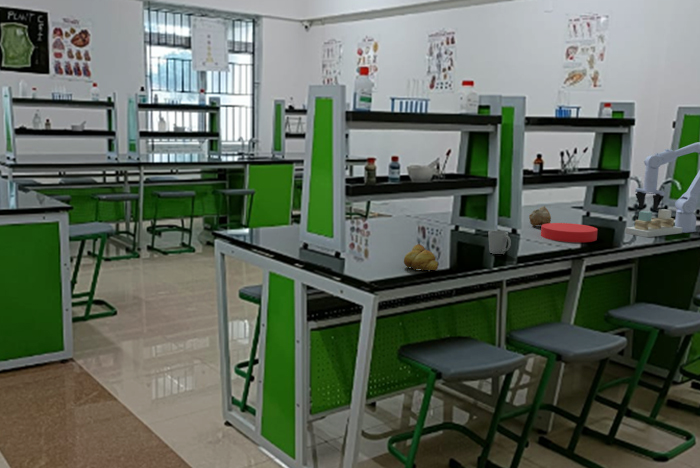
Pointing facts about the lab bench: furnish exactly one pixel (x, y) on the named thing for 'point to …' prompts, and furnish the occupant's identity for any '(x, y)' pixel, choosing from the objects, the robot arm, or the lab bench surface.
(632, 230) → the dock
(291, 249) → the lab bench surface
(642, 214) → the crate teal
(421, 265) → the bread roll
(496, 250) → the cup
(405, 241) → the lab bench surface
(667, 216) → the crate white
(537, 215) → the rock
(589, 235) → the disc
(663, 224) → the beige lumpy bar
